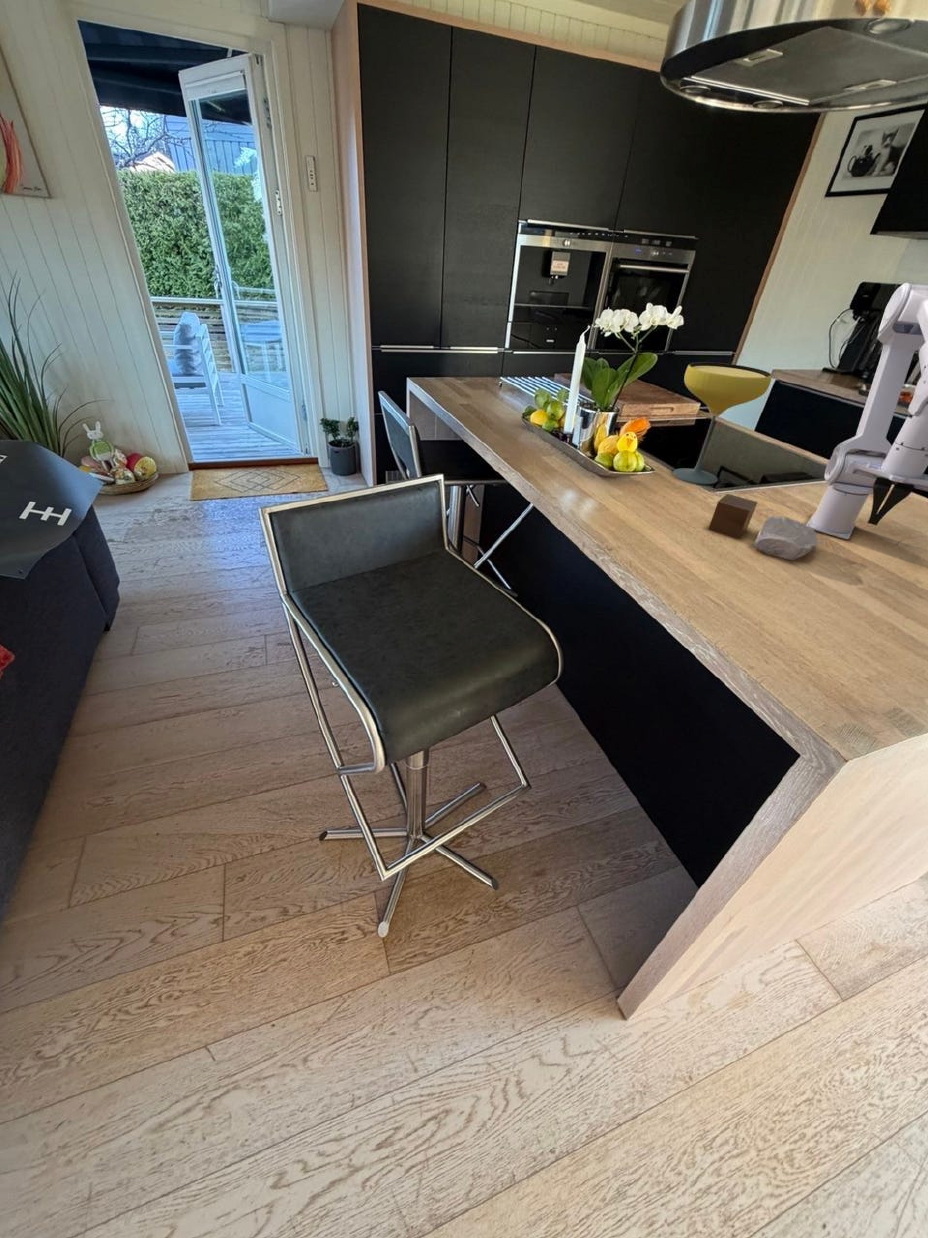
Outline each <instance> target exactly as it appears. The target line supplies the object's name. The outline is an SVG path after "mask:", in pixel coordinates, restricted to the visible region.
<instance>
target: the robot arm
mask: <svg viewBox="0 0 928 1238" xmlns="http://www.w3.org/2000/svg"><path fill="white" fill-rule="evenodd" d="M882 315H883V316H882V318H881V322H880V325H879V328H878V334H877V336H876V339H877V340H878V341H879V342H880V343H881V344H882V350H881V354H880V357H879V361H878V364H877V367H876V371H875V373H874V377H873V379H872V383H871V386H870V388H869V393H868V396H867V398H866V402H865V405H864V408H863V411H862V415H861V417H860V420H859V423H858V427H857V429H856V433H855V436H852V437H850V438H849V439H846V440H844V441H842V442H840V443H838V444H837V446H835V448H834V449H833V451H832V455H831V456H830V459H829V460H828V462H827V464H826V467H825V470H824V474H823V475H824V476H823V477H824V480H825V482H826V483H827V484H828V485H827V487H826V489H825V491H824V493H823V495H822V497H821V500H820V502H819V503H818V506H817V508H816V510H815V512H814V513H813V514H812V516H811V517H810V518H809V520H808V521H807V523H806V524H805V525H806V526H809V527H810V528H811V529H813V530H814V531H815V532H819V533H823V534H826V535H830V536H833V537H837V538H840V539H844V540H849V539H850V537H851V535H852V533H853V530H854V529H855V526H856V524H855V523H856V520H857V519H858V517H859V514H860V512H861V511H862V509H863V507H864V505H865V504H866V502H867V500H868V498H869V496H870V495H872V507H871V512H870V515H869V518H868V521H867V524H869V525H874V526H877V525H878V524H879V523H880V521H881V520H882V519H883V518H884V517H885V515H887V514H888V513H889V512H890V511H891V510H892V509H893V508H895V507H896V505H898V504H899V503H901V502H902V501H904V500H905V499H906V498H907V497H909V496H910V495H911V494H912V492H913V490H914V489H917V490H921V491H925V492H928V474H925V471H926V469H927V467H928V285H927V284H926V285H925V284H911V283H910V282H903V284H901V285H900V286H899V287H897V289H895V291H894V292H893V294H892V295H891V297H890V299H889V301H888V302H887V305H886V307H885V308H884V312H883V314H882ZM919 348H920V349H919ZM918 349H919V351H918V359H919V360H918V361H919V368H920V378H919V379H918V380H917V384H916V386H915V388H914V391H913V397H912V399H911V402H910V404H909V405H908V409H907V412H908V415H907V417H906V419H905V421H904V423H903V425H902V427H901V428H900V431H899V432H898V434H897V436H896V438H895V439H894V442H893V443H892V444H891V443H890V441H889V440H888V439H887V435H888V432H889V431H890V430H889V429H890V426H891V423H892V420H893V417H894V414H895V411H896V408H897V405H898V402H899V399H900V396H901V393H902V390H903V387H904V385H905V381H906V379H907V375H908V372H909V369H910V367H911V364H912V360H913V357H914V353H915V352H916V351H917V350H918ZM893 484H894V485H893ZM891 488H892V489H891ZM890 490H891V491H890ZM886 497H887V498H886ZM884 501H885V502H884Z"/></svg>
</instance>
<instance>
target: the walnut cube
mask: <svg viewBox="0 0 928 1238" xmlns="http://www.w3.org/2000/svg"><path fill="white" fill-rule="evenodd" d="M715 506H716V507H715V509H714V512H713V514H712V518H711V521H710V522H709V526H708V530H709V531H713V532H716V533H719V534H722V535H724V536H725V535H726V536H729V537H732V538H734V539H740V538H741V537H742V535H743V534H744V533H746V531H747V530H748V527H749V525H750V523H751V520H752V517H753V515H754V513H755V510H756V507H757V506H758V501H756V500H755V501H754V500H751V499H747V498H744V497H741V496H737V495H733V494H730V493H726V494H725V495H724V496H723V497H722V498H721V499H720V500H718V501H717V504H716V505H715Z"/></svg>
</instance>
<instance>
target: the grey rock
mask: <svg viewBox="0 0 928 1238" xmlns="http://www.w3.org/2000/svg"><path fill="white" fill-rule="evenodd" d="M806 525H807V524H804V523H801V521H800V522H799V521H798V520H796V519H792V518H790V517H786V516H779V515H770V516H768V517H767V519H766V520H765V521H764V524H763V525H762V528H761V529H760V530H759V532H758V534H757V536H756V538H755V540H754V543H753V547H754V548H755V551H756V552H758V553H763V554H766V555H768V556H774V557H778V558H781V559H784V560H788V561H794V560H797V559H800V558H801V557H804V556H805V555H808V553H810V552H811V551H812V550H814V549H815V548H816V547H818V535H817V533H816V532H817V531H816V530H813V529H811V528H810V527H809V526H806Z"/></svg>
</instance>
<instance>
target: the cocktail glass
mask: <svg viewBox="0 0 928 1238" xmlns="http://www.w3.org/2000/svg"><path fill="white" fill-rule="evenodd" d="M772 376H773V375H772V374H771V372H769V371H766V370H763V369H759V368H756V367H752V366H751V367H750V366H745V365H739V364H732V363H723V362H711V361H710V362H707V361H701V362H699V361H698V362H691V363H689V364H688V365H687V367H686V369H685V373H684V378H683V380H684V381H683V383H684V385H685V387H686V388H687V389H688V391H689V392H690V393H691V394H693V395H694V396H695V397H696V398H697V399H699V400H700V401H701V402H703V403H704V404H705V405H706V407H707V409H708V412H709V414H710V416H712V418H711V421H710V424H709V428H708V431H707V434H706V437H705V440H704V443H703V446H702V449H701V452H700V455H699V458H698V460H697V462H696V465H695V466H694V468H687V467H686V468H685V467H683V468H682V467H681V468H677V469H674V470H673V472H672V474H673V476H674V477H675V478H677V479H678V480H681V481H684V482H686V483H691V484H696V485H704V486H705V485H714V484H716V483H717V482H718V481H719V478H718V477H717V476H716V475H714V474H713V473H710V472H708V471H705V470H702V463H703V459H704V456H705V452H706V449H707V446H708V442H709V439H710V436H711V432H712V429H713V426H714V424H715V420H716V417H719V416H721V415H722V414H724V412H725V411H727V410H728V409H731V408H733V407H736V406H739V405H743V404H747V403H749V402H752V401H755V400H756V399H758V398H761V397H762V396H763V395H764V394H765V393H766V392H767V391H768V389H769V387H770V385H771V381H772Z"/></svg>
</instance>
